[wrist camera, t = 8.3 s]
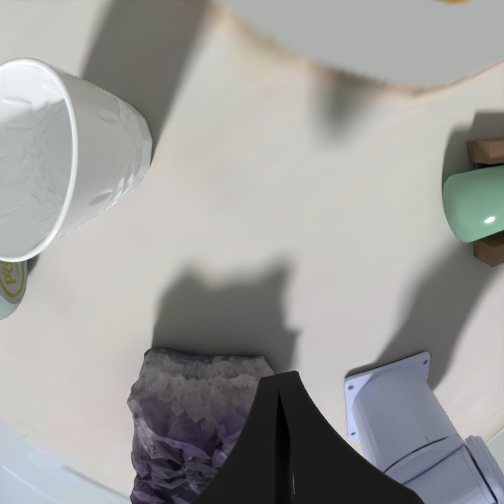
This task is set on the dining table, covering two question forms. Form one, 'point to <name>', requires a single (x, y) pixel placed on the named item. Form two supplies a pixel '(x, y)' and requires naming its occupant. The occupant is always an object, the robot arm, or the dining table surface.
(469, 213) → the bottle
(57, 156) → the white cup
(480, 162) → the cradle
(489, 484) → the robot arm
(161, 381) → the geode
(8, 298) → the air freshener
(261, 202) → the dining table surface
